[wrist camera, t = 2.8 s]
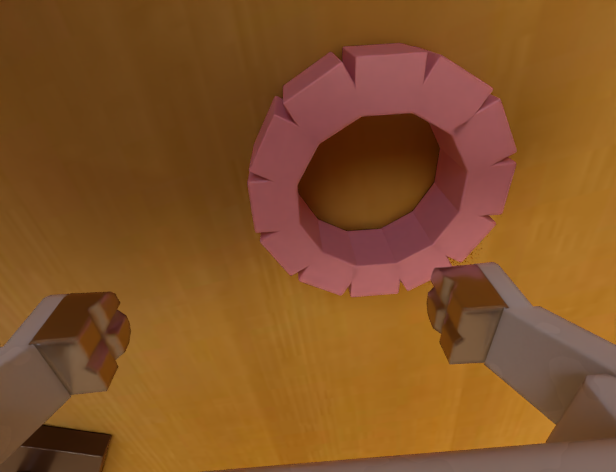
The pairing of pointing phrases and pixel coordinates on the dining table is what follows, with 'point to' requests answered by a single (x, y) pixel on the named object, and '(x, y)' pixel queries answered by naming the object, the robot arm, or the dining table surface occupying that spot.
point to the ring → (434, 205)
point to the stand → (59, 452)
